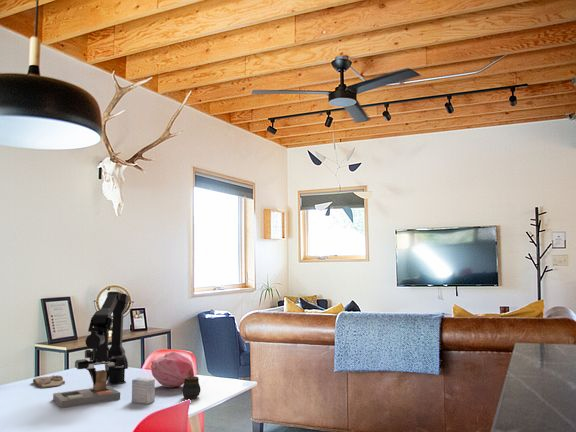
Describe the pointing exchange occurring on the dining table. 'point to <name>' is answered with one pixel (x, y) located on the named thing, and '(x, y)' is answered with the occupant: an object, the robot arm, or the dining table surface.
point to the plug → (100, 380)
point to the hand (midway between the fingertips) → (99, 383)
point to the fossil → (48, 381)
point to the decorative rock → (171, 369)
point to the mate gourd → (191, 387)
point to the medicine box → (143, 390)
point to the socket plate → (85, 397)
